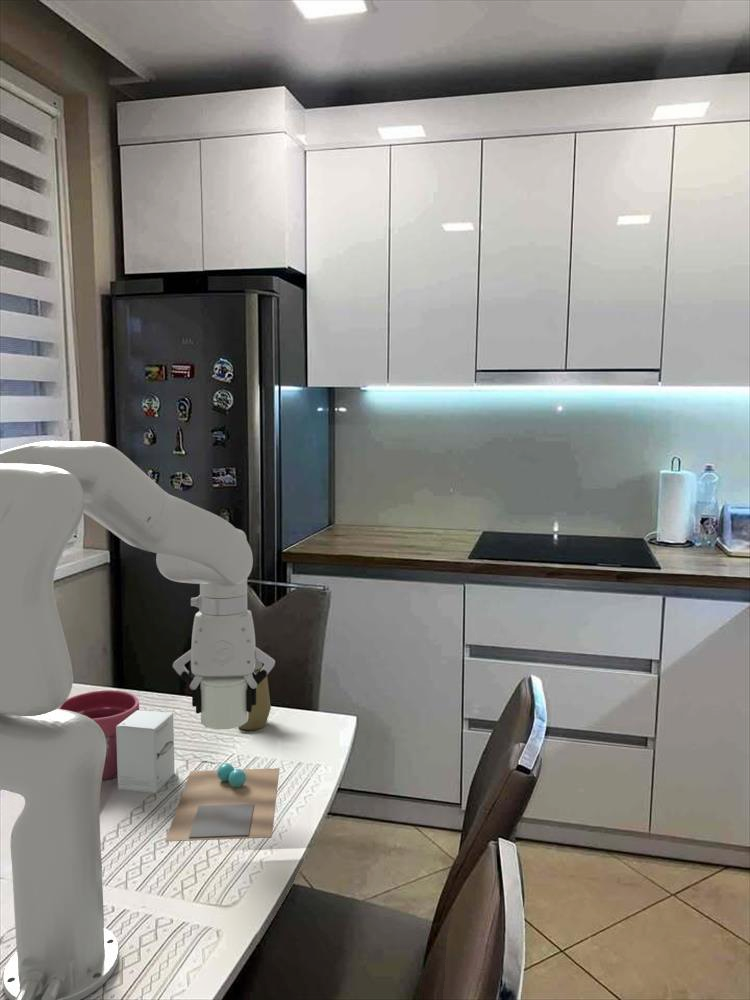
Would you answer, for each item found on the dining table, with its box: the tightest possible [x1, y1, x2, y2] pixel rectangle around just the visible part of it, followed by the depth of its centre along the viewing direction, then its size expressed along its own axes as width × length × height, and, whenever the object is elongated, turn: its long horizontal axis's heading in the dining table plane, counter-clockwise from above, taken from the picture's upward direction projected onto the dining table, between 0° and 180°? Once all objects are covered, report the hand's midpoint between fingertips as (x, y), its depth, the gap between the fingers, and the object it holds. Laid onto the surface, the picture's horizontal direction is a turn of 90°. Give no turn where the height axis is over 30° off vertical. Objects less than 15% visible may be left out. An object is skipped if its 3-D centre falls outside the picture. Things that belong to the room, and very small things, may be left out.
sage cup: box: [200, 676, 248, 730], centre depth 121 cm, size 8×8×8 cm
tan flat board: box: [165, 767, 280, 842], centre depth 123 cm, size 22×16×1 cm
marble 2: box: [229, 768, 246, 787], centre depth 127 cm, size 3×3×3 cm
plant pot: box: [58, 689, 140, 782], centre depth 135 cm, size 14×14×13 cm
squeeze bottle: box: [238, 659, 272, 731], centre depth 155 cm, size 8×8×18 cm
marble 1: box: [217, 762, 235, 781], centre depth 130 cm, size 3×3×3 cm
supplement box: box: [116, 709, 176, 794], centre depth 129 cm, size 7×7×13 cm
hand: (224, 709), depth 121 cm, fingers closed on sage cup, 7 cm apart
